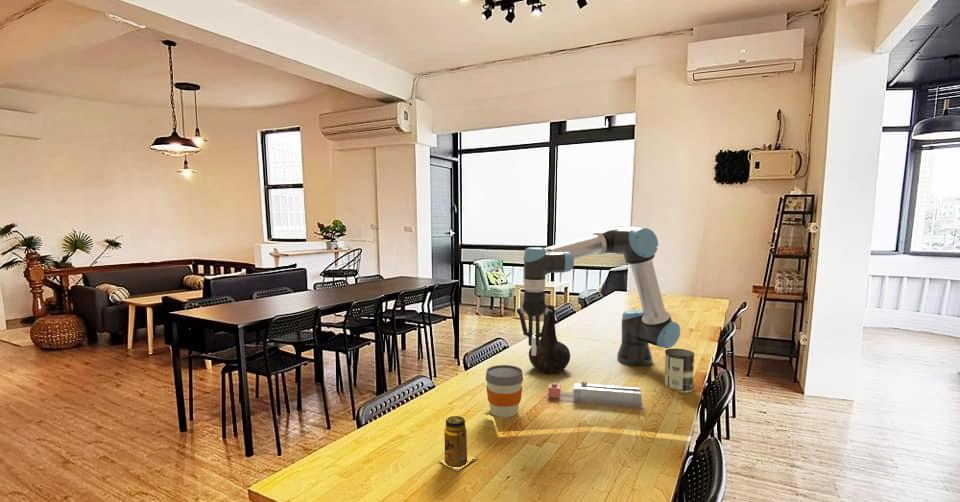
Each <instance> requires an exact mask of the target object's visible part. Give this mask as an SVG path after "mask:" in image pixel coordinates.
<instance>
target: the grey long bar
mask: <svg viewBox="0 0 960 502" xmlns="http://www.w3.org/2000/svg"><path fill="white" fill-rule="evenodd" d="M573 393H574V395H573V402H575V403H574V404H582V403H590V404H589V405H593V404H601V405H600V406H604V405H612V406H611V407H615V406H623V407H622V408H626V407H634V408H633V409H636V408H641V399H642V396H643V395H642V391H641V392H639V391H627V390H615V389H603V388H591V387H582V383H578V382H577V383H576V382H575V383H573Z"/></svg>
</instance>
